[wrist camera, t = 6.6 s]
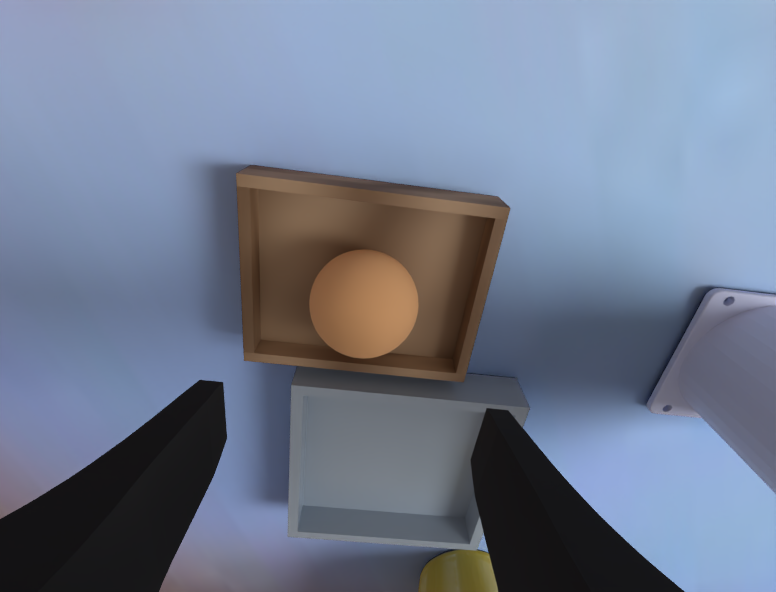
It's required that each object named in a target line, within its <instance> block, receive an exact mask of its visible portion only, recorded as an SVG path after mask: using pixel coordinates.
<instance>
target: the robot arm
mask: <svg viewBox="0 0 776 592" xmlns="http://www.w3.org/2000/svg"><path fill="white" fill-rule="evenodd" d="M726 298H728V299H727V300H726V301H724V300H725V299H726ZM647 408H648V409H649V410H650V411H651V412H652V413H655V414H665V415H676V416H686V417H696V418H703V419H704V420H705V421H706V422H707V423H708V425H709V426H710V427H711V428H712V429H713V430H714V431H715V432H716V433H717V434H718V435H719V436H720V437H721V438H722V439H723V440H724V441H725V442H726V443H727V444H728V445H729V446H730V447H731V448H732V449H733V450H734V451H735V452H736V453H737V454H738V455H739V456H740V458H741V459H742V460H743V461H744V462H745V463H746V464H747V465H748V466H749V467H750V468H751V469H752V470H753V471H754V472H755V473H756V474H757V475H758V476H759V477H760V478H761V479H762V480H763V481H764V482H765V483H766V484H767V485H768V486H769V487H770V488H771V489H772V491H773V492H774V493H775V494H776V295H774V294H765V293H757V292H748V291H740V290H731V289H723V288H715V289H712V290H710V291H709V292H708V293H707V294H706V295H705V297H704V299H703V301H702V302H701V304H700V306H699V308H698V310H697V312H696V314H695V315H694V317H693V319H692V321H691V323H690V325H689V326H688V328H687V330H686V332H685V334H684V336H683V338H682V339H681V341H680V343H679V345H678V347H677V349H676V350H675V352H674V354H673V356H672V358H671V360H670V362H669V363H668V365H667V367H666V369H665V371H664V373H663V374H662V376H661V378H660V380H659V382H658V384H657V385H656V387H655V389H654V391H653V393H652V395H651V397H650V398H649V400H648V402H647ZM226 440H227V432H226V418H225V403H224V389H223V382H215V381H205V380H199V381H198V382H197V383H195V384H194V385H193V386H191V387H190V388H189V389H188V390H186V391H185V392H184V393H183V394H181V395H180V396H179V397H178V398H177V399H175V400H174V401H173V402H172V403H170V404H169V405H168V406H167V407H165V408H164V409H163V410H162V411H160V412H159V413H158V414H157V415H156V416H154V417H153V418H152V419H150V420H149V421H148V422H147V423H145V424H144V425H143V426H141V427H140V428H139V429H138V430H136V431H135V432H134V433H132V434H131V435H130V436H128V437H127V438H126V439H124V440H123V441H122V442H120V443H119V444H118V445H116V446H115V447H113V448H112V449H111V450H109V451H108V452H106V453H105V454H104V455H102V456H101V457H99V458H98V459H97V460H95V461H94V462H92V463H91V464H90V465H88V466H87V467H85V468H84V469H82V470H81V471H79V472H78V473H76V474H75V475H73V476H72V477H70V478H69V479H67V480H66V481H64V482H62V483H61V484H59V485H58V486H56V487H54V488H53V489H51V490H50V491H48V492H46V493H45V494H43V495H42V496H40V497H38V498H37V499H35V500H33V501H32V502H30V503H28V504H27V505H25V506H23V507H21V508H19V509H18V510H16V511H14V512H12V513H10V514H9V515H7V516H5V517H3V518H2V519H0V592H159V590H160V588H161V585H162V583H163V580H164V578H165V576H166V574H167V571H168V569H169V567H170V565H171V562H172V560H173V558H174V556H175V554H176V552H177V550H178V548H179V546H180V544H181V542H182V540H183V538H184V536H185V534H186V532H187V530H188V528H189V526H190V524H191V522H192V520H193V518H194V516H195V514H196V511H197V509H198V507H199V505H200V503H201V501H202V499H203V497H204V495H205V493H206V491H207V489H208V487H209V485H210V483H211V480H212V478H213V476H214V474H215V471H216V468H217V466H218V463H219V460H220V457H221V454H222V451H223V448H224V445H225V443H226ZM470 461H471V470H472V479H473V486H474V493H475V499H476V503H477V507H478V512H479V516H480V520H481V524H482V528H483V532H484V536H485V540H486V544H487V548H488V552H489V556H490V560H491V564H492V568H493V572H494V576H495V580H496V583H497V588H498V592H684V591H683V590H682V589H681V588H679V587H678V586H677V585H676V584H675V583H674V582H672V581H671V580H670V579H669V578H668V577H666V576H665V575H664V574H663V573H662V572H660V571H659V570H658V569H657V568H656V567H655V566H653V565H652V564H651V563H650V562H649V561H648V560H646V559H645V558H644V557H643V556H642V555H641V554H640V553H639V552H637V551H636V550H635V549H634V548H633V547H632V546H631V545H630V544H629V543H628V542H627V541H626V540H625V539H624V538H622V537H621V536H620V535H619V534H618V533H617V532H616V531H615V530H614V529H613V528H612V527H611V526H610V525H609V524H608V523H607V522H606V521H605V520H604V519H603V518H602V517H601V516H600V515H599V514H598V513H597V512H596V511H595V510H594V509H593V508H592V507H591V506H590V505H589V504H588V503H587V502H586V501H585V500H584V499H583V498H582V497H581V495H580V494H579V493H578V492H577V491H576V490H575V489H574V488H573V487H572V486H571V485H570V484H569V482H568V481H567V480H566V479H565V478H564V477H563V476H562V475H561V473H560V472H559V471H558V470H557V469H556V468H555V466H554V465H553V464H552V463H551V462H550V461H549V459H548V458H547V457H546V456H545V455H544V453H543V452H542V451H541V450H540V449H539V447H538V446H537V445H536V444H535V442H534V441H533V440H532V439H531V438H530V436H529V435H528V434H527V433H526V431H525V430H524V429H523V428H522V426H521V425H520V424H519V423H518V421H517V420H516V419H515V418H514V417H513V415H512V414H511V413H510V412H509V411H508V410H502V409H492V408H486V412H485V415H484V418H483V421H482V424H481V428H480V431H479V434H478V437H477V440H476V443H475V447H474V450H473V453H472V456H471V459H470Z"/></svg>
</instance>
